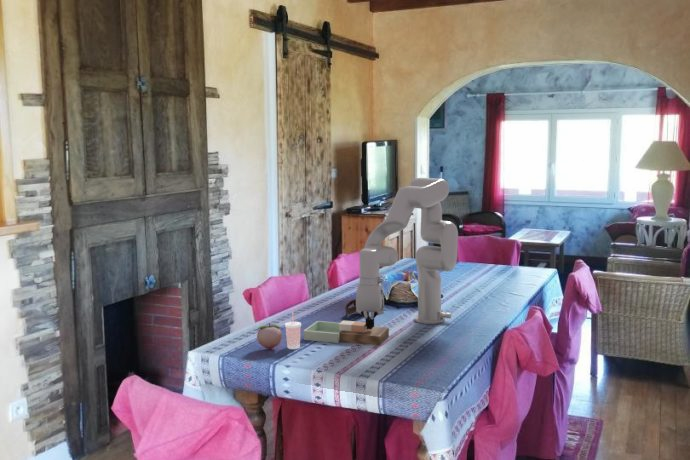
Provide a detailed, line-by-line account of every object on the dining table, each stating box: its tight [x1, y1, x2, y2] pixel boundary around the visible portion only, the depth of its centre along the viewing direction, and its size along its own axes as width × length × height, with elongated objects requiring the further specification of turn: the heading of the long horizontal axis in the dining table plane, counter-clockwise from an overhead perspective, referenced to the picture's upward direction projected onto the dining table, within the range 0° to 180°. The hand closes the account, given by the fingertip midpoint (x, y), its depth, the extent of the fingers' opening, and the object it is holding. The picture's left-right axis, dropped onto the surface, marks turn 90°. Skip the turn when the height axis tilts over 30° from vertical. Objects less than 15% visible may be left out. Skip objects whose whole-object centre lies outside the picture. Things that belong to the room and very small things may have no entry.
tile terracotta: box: [351, 320, 367, 332], centre depth 260 cm, size 5×5×2 cm
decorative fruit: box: [256, 322, 283, 350], centre depth 248 cm, size 9×8×10 cm
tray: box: [302, 320, 342, 344], centre depth 265 cm, size 14×15×4 cm
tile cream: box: [338, 320, 355, 331], centre depth 261 cm, size 5×5×2 cm
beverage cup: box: [284, 309, 302, 350], centre depth 250 cm, size 6×6×14 cm
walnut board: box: [338, 326, 390, 347], centre depth 260 cm, size 16×12×4 cm
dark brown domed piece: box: [344, 298, 358, 317], centre depth 295 cm, size 12×10×8 cm
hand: (369, 328), depth 258 cm, fingers closed
